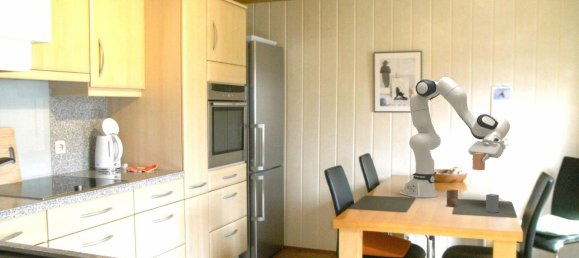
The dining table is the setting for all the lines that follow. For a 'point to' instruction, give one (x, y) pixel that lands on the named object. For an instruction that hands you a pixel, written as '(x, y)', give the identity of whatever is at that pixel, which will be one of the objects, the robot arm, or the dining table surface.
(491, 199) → the charcoal bar
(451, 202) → the walnut bar
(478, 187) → the dining table surface
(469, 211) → the dining table surface
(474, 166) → the terracotta bar
